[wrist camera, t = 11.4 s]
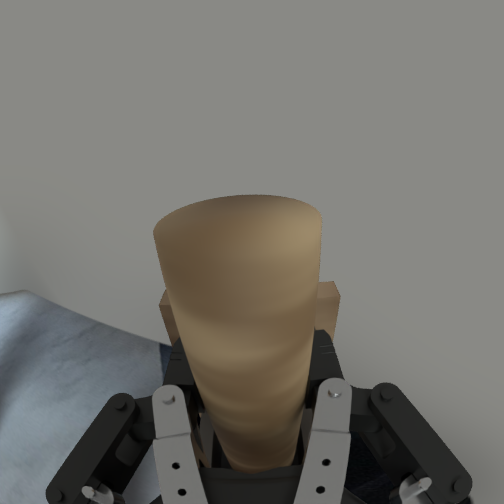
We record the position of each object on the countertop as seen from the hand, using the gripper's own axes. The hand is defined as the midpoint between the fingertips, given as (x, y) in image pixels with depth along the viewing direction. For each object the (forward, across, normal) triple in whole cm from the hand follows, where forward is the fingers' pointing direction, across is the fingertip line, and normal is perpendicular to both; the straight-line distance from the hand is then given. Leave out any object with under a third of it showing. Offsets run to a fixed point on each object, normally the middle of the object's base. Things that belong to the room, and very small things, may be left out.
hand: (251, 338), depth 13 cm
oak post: (-3, 0, +9) cm, 9 cm away
